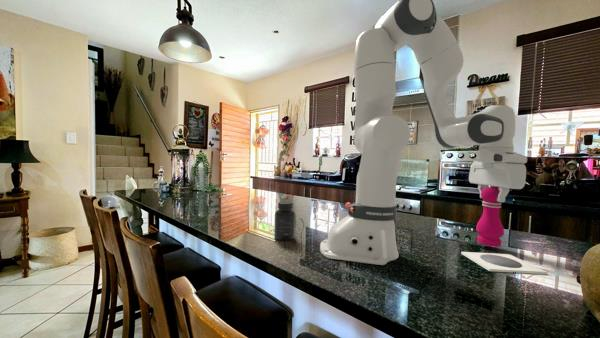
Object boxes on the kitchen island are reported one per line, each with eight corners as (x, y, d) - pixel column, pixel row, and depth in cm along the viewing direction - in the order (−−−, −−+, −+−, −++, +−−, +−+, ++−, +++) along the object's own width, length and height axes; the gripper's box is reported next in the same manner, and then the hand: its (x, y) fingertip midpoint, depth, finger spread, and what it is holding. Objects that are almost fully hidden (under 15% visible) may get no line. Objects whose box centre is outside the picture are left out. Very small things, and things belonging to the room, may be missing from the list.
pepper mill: (508, 248, 77) (513, 183, 77) (481, 245, 79) (486, 182, 78) (495, 241, 84) (499, 182, 84) (471, 239, 86) (475, 180, 85)
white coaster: (489, 271, 63) (489, 268, 63) (461, 253, 75) (461, 251, 75) (547, 274, 63) (547, 271, 63) (509, 256, 75) (509, 253, 75)
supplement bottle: (273, 235, 87) (274, 200, 86) (292, 234, 88) (294, 200, 88) (274, 241, 80) (276, 204, 80) (296, 241, 81) (297, 204, 81)
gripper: (465, 157, 91) (462, 195, 92) (509, 156, 71) (505, 204, 71) (483, 158, 91) (480, 196, 91) (532, 157, 71) (528, 206, 71)
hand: (491, 200), depth 81 cm, fingers closed on pepper mill, 6 cm apart
